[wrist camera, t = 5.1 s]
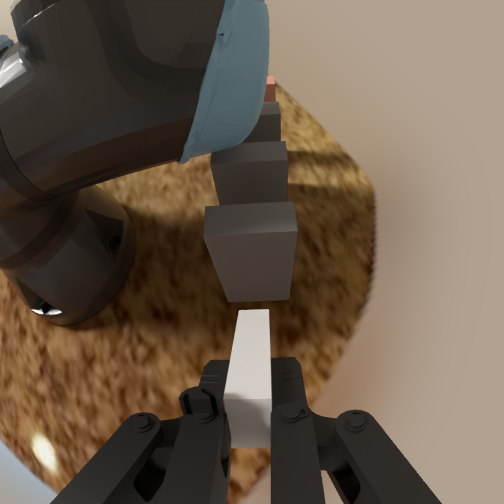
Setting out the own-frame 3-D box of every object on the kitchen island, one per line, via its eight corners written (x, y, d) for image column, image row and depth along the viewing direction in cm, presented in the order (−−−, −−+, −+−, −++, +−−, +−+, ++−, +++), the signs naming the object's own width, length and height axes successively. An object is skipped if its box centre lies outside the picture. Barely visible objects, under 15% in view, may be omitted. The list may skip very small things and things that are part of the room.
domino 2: (284, 242, 27) (288, 159, 18) (229, 245, 27) (210, 164, 18) (282, 224, 28) (285, 141, 19) (230, 227, 28) (212, 145, 19)
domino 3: (289, 299, 24) (297, 231, 15) (228, 302, 24) (202, 235, 15) (287, 277, 25) (294, 201, 16) (228, 280, 25) (205, 206, 16)
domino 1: (280, 196, 29) (280, 114, 21) (231, 199, 30) (216, 118, 21) (278, 182, 30) (278, 101, 22) (231, 185, 31) (217, 105, 22)
